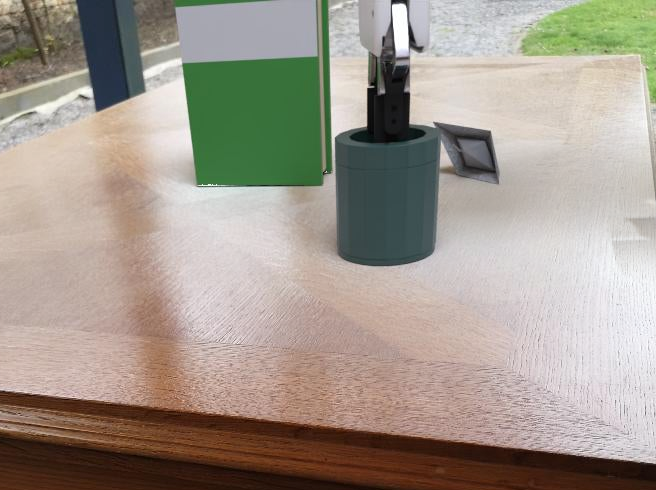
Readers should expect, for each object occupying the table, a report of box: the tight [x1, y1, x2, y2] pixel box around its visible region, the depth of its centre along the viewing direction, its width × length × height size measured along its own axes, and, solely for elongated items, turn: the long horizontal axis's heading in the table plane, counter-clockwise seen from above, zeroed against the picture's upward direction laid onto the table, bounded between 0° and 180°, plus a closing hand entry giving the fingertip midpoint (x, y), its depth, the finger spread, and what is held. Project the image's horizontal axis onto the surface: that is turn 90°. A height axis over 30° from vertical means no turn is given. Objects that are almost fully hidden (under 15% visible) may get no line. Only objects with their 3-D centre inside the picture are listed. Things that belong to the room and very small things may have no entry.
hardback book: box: [173, 0, 333, 187], centre depth 102 cm, size 18×7×24 cm, turn 75°
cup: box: [334, 123, 442, 267], centre depth 78 cm, size 10×10×11 cm
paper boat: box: [432, 121, 501, 185], centre depth 100 cm, size 12×6×9 cm
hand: (387, 134), depth 75 cm, fingers open, 3 cm apart
